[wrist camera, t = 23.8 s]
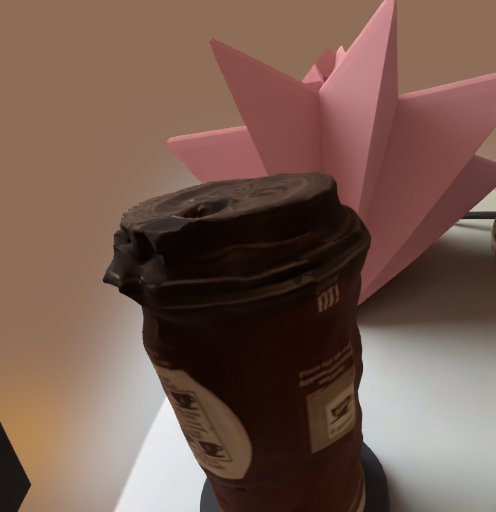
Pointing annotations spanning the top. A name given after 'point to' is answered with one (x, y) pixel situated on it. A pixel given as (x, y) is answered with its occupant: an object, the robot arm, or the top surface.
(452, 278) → the top surface
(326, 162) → the sculpture
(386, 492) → the mat
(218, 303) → the coffee cup
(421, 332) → the top surface
